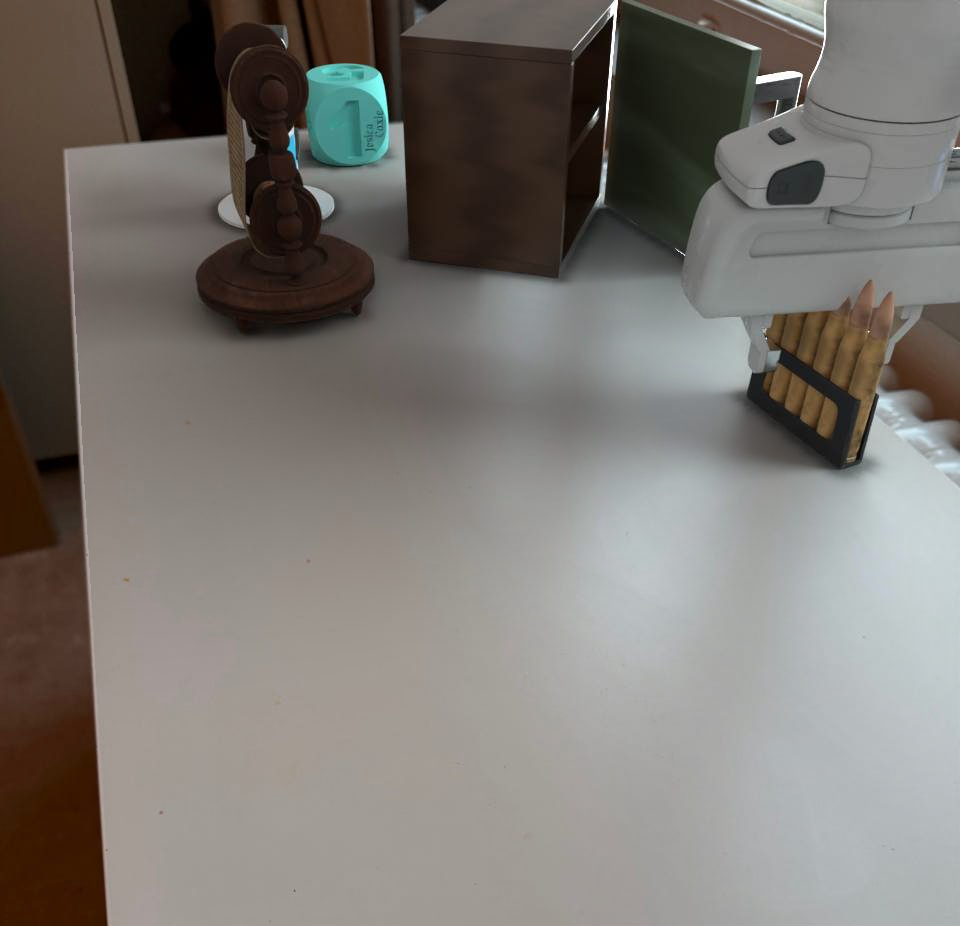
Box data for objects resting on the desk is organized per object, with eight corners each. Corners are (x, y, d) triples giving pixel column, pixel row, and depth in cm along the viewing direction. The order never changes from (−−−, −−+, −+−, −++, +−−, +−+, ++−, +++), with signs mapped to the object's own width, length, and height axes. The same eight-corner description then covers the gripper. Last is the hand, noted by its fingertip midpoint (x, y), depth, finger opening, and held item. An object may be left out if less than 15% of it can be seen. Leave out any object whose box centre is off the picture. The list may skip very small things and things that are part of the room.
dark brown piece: (189, 275, 91) (139, 16, 77) (352, 253, 94) (332, 2, 81) (215, 352, 81) (163, 70, 67) (397, 324, 84) (383, 51, 71)
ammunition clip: (745, 395, 77) (778, 235, 68) (765, 390, 77) (800, 230, 69) (840, 469, 70) (890, 300, 61) (862, 463, 70) (914, 295, 62)
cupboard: (600, 204, 103) (617, -3, 91) (558, 278, 91) (572, 50, 78) (466, 188, 106) (466, -15, 94) (408, 258, 94) (399, 35, 81)
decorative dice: (316, 169, 110) (308, 87, 104) (308, 144, 116) (300, 65, 110) (390, 163, 111) (386, 82, 106) (379, 139, 117) (374, 61, 111)
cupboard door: (667, 191, 106) (692, -9, 94) (783, 256, 94) (829, 38, 82) (603, 204, 103) (621, 0, 91) (714, 273, 92) (752, 50, 79)
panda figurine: (324, 235, 97) (306, 58, 87) (205, 232, 98) (173, 56, 87) (341, 188, 106) (327, 22, 96) (232, 185, 106) (206, 20, 96)
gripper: (1007, 127, 64) (938, 333, 74) (691, 141, 62) (662, 352, 72) (1063, 163, 60) (982, 377, 69) (724, 179, 58) (688, 398, 67)
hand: (817, 364), depth 71 cm, fingers open, 7 cm apart
